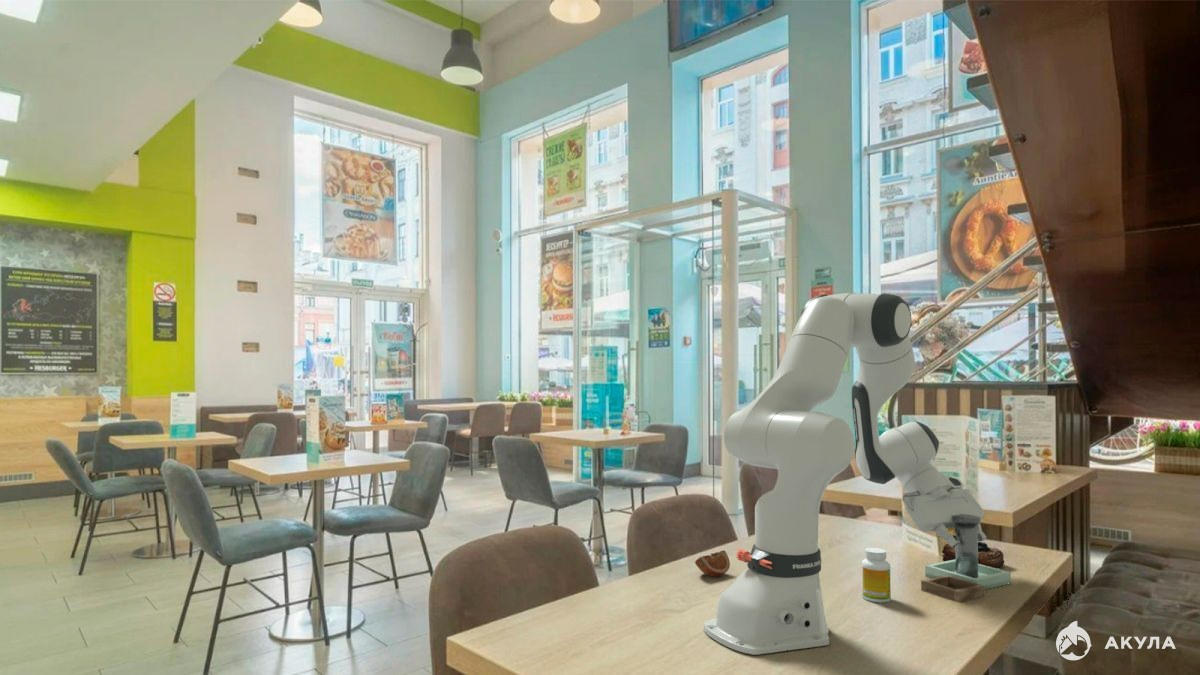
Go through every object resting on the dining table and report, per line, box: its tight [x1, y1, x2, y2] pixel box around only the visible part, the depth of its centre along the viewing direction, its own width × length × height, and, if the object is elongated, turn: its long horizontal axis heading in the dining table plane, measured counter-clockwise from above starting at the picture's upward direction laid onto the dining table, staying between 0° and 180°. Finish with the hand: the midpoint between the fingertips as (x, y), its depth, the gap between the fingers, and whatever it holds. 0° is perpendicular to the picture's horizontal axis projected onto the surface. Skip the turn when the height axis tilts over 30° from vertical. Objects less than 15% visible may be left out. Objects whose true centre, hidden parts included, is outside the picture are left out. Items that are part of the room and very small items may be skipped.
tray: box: [924, 559, 1012, 591], centre depth 151 cm, size 12×12×2 cm
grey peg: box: [952, 514, 981, 578], centre depth 151 cm, size 6×6×13 cm
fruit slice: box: [694, 550, 731, 577], centre depth 153 cm, size 8×7×5 cm
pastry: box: [941, 541, 1005, 569], centre depth 163 cm, size 11×12×6 cm
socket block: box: [920, 575, 985, 603], centre depth 142 cm, size 8×8×2 cm
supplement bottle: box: [861, 547, 891, 604], centre depth 138 cm, size 5×5×10 cm
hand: (969, 542), depth 150 cm, fingers open, 8 cm apart
